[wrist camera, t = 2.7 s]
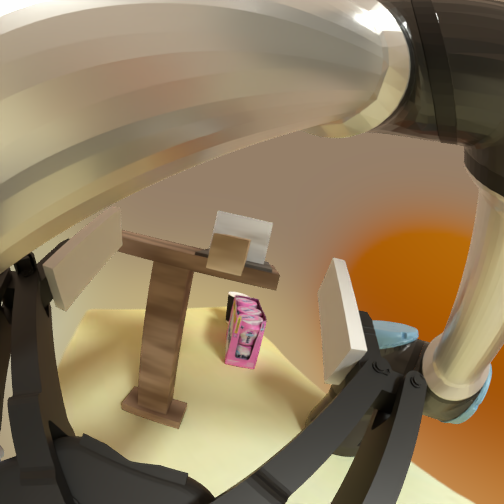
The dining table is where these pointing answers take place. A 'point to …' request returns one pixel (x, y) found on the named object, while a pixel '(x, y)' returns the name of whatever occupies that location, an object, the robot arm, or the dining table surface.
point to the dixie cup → (231, 303)
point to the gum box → (244, 332)
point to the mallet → (237, 242)
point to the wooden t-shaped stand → (172, 319)
